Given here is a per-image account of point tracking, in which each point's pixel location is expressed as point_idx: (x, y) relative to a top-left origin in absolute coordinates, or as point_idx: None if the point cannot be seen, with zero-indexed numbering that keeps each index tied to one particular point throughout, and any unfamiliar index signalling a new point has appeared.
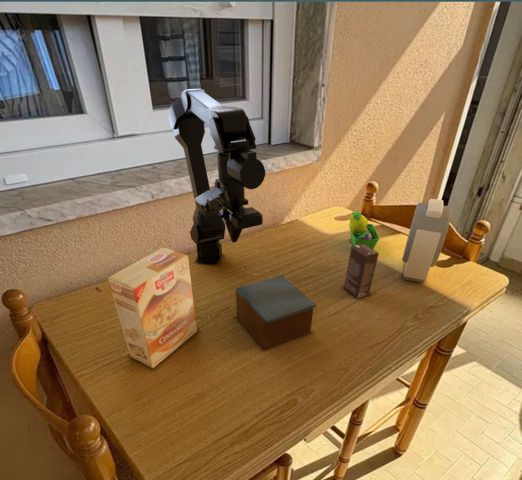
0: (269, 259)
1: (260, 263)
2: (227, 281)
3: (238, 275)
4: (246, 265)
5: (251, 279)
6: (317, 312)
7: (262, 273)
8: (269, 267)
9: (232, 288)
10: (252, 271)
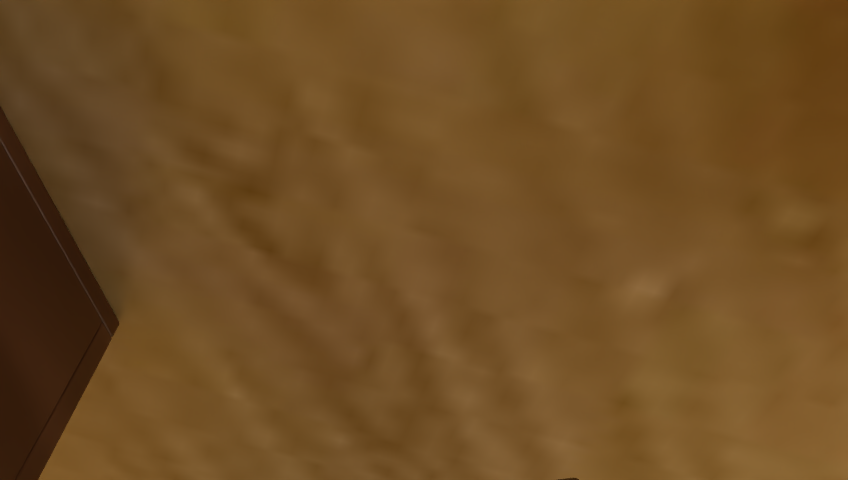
0: (819, 443)
1: (800, 371)
2: (638, 6)
3: (700, 147)
4: (842, 264)
5: (569, 235)
6: None
7: (627, 340)
8: (694, 409)
9: (474, 21)
10: (704, 280)
